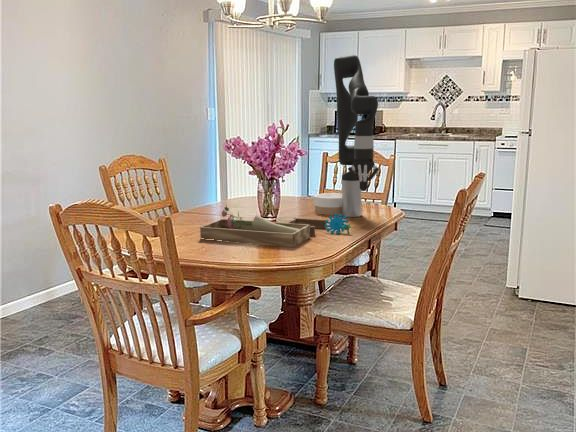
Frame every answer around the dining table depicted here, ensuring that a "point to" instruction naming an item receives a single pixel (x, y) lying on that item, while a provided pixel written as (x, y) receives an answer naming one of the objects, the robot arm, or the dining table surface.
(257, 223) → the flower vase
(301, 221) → the cradle
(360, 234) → the dining table surface
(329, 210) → the bowl
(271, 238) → the wooden tray
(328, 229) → the gear
